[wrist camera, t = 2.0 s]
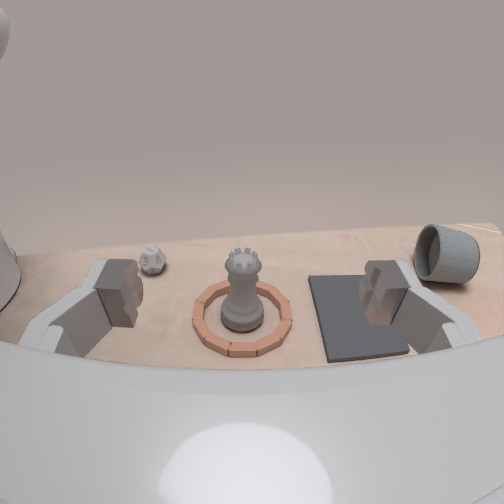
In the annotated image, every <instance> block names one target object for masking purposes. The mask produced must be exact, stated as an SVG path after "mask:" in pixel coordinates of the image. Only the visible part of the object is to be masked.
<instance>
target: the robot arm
mask: <svg viewBox="0 0 504 504" xmlns="http://www.w3.org/2000/svg"><path fill="white" fill-rule="evenodd" d="M9 29H10V27H9V20H8V17H7V15H6V13H5V12H4V10H3V9H2V8H1V7H0V60H1V58H2V57H3V55H4V52H5V50H6V47H7V44H8V40H9V33H10V30H9ZM138 270H139V268H138V264H137V261H135V260H130V259H96V260H95V261H94V263H93V265H92V266H91V268H90V270H89V272H88V274H87V275H86V277H85V279H84V281H83V283H82V285H81V286H80V288H75V289H74V290H72V291H71V292H69V293H68V294H67V295H65V296H64V297H62V298H61V299H59V300H58V301H57V302H55V303H54V304H52V305H51V306H50V307H48V308H47V309H45V310H44V311H43V312H41V313H40V314H38V315H37V316H36V317H34V318H33V319H32V320H30V322H29V324H28V326H27V328H26V329H25V331H24V333H23V335H22V337H21V339H20V341H19V343H18V345H16V344H12V343H8V342H4V341H0V504H504V335H501V336H498V337H494V338H490V339H486V340H483V338H482V336H481V334H480V333H479V331H478V329H477V327H476V326H475V324H474V322H473V321H472V319H471V318H470V317H469V316H467V315H466V314H464V313H463V312H462V311H460V310H459V309H457V308H456V307H454V306H453V305H452V304H450V303H449V302H447V301H446V300H444V299H443V298H441V297H440V296H438V295H437V294H435V293H434V292H432V291H431V290H429V289H428V288H426V287H422V285H421V283H420V282H419V280H418V278H417V277H416V275H415V274H414V272H413V270H412V269H411V267H410V266H409V264H408V263H407V261H405V260H404V259H402V260H378V261H368V262H367V263H366V266H365V269H364V270H365V272H366V275H365V276H364V277H363V278H362V279H361V282H360V285H359V297H360V300H361V303H362V304H363V305H364V306H365V307H367V310H366V312H365V313H366V316H367V319H368V321H369V324H370V326H383V325H391V327H392V328H393V329H394V330H395V331H396V332H397V333H398V334H399V335H400V336H401V337H402V338H403V339H404V340H405V341H406V342H407V343H408V344H409V345H410V346H411V347H412V348H413V349H414V350H415V351H416V352H417V353H418V355H412V356H406V357H400V358H393V359H386V360H379V361H371V362H363V363H354V364H345V365H334V366H322V367H307V368H289V369H256V370H224V369H191V368H173V367H159V366H147V365H136V364H127V363H118V362H110V361H102V360H95V359H88V358H84V357H85V356H86V355H87V354H88V353H89V352H90V350H91V349H92V348H93V347H94V346H95V345H96V344H97V343H98V342H99V341H100V340H101V339H102V338H103V337H104V336H105V335H106V334H107V333H108V332H109V331H110V330H111V329H112V327H127V328H134V325H135V322H136V319H137V316H138V312H137V309H136V308H137V307H138V306H140V305H141V303H142V299H143V283H142V279H141V278H140V277H139V276H138V275H137V273H138ZM20 278H21V270H20V267H19V266H18V264H17V263H16V253H15V251H14V250H13V249H12V248H9V247H8V246H7V243H6V242H5V240H4V238H3V236H2V234H1V232H0V310H1V309H2V308H3V307H4V306H5V305H6V304H7V302H8V301H9V300H10V299H11V297H12V296H13V294H14V293H15V291H16V289H17V287H18V285H19V282H20Z"/></svg>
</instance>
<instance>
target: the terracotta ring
mask: <svg viewBox="0 0 504 504" xmlns="http://www.w3.org/2000/svg"><path fill="white" fill-rule="evenodd" d="M229 288H230V283H229V281H228V279H227V280H225V281H222V282H219V283H216V284H214V285H211V286H210V287H208V288H207V289H206V290H205V291H204V292H203V293H202V294H201V295H200V296H199V297H198V298H197V299H196V300H195V303H194V310H193V317H192V321H193V327H194V329H195V330H196V332H197V333H198V335H199V337H200V338H201V340H202V342H203V343H204V344H205V345H206V346H208V347H210V348H212V349H214V350H216V351H218V352H220V353H222V354H224V355H226V356H228V355H229V357H256V355H257V356H260V355H262V354H264V353H266V352H268V351H270V350H272V349H274V348H276V347H278V346H280V344H282V342H283V340H284V338H285V337H286V335H287V333H288V332H289V330H290V328H291V325H292V320H293V319H292V313H291V307H290V302H289V300H288V299H287V298H286V297H285V296H284V295H283V294H282V293H281V292H280V291H279V290H278V289H277V288H276V287H275V288H274V286H272V285H269V284H267V283H264V282H261V281H259V280H258V281H257V283H256V293H258V294H260V295H263V296H265V297H268V298H269V299H270V300H271V301H272V302H273V303H274V304H275V305H276V306H277V308H278V309H279V310H280V317H281V322H280V323H279V325H278V327H277V328H276V330H275V331H274V333H273V334H271V335H269V336H266V337H264V338H262V339H260V340H258V341H256V342H230V341H228V340H225V339H223V338H221V337H219V336H217V335H215V334H213V333H212V332H211V331H210V329H209V328H208V326H207V325H206V323H205V322H204V311H205V308H206V307H207V306H208V305H209V304H210V303H211V302H212V301H213V300H214V299H215V298H216V297H218V296H221V295H223V294H226V293H228V292H229Z"/></svg>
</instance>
